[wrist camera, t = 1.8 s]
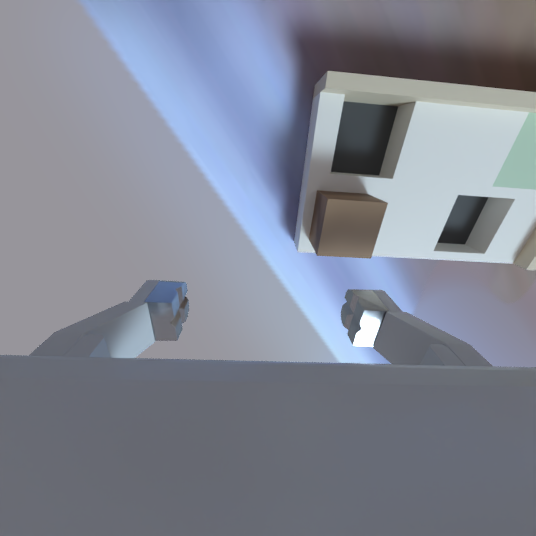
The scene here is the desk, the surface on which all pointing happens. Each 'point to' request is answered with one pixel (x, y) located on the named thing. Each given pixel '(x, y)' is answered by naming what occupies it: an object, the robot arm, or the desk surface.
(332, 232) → the walnut block
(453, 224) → the board
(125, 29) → the desk surface
